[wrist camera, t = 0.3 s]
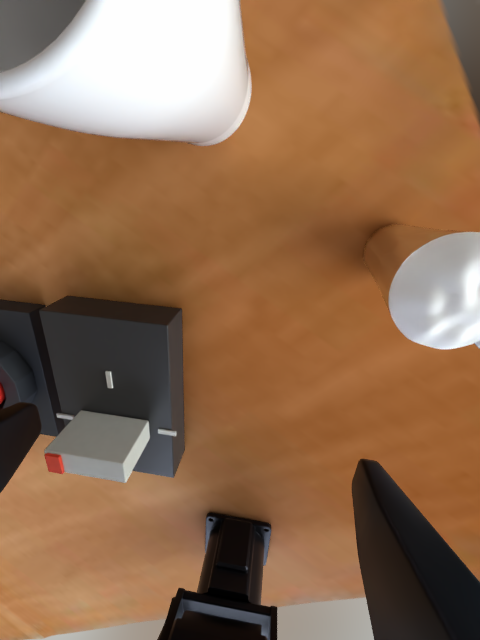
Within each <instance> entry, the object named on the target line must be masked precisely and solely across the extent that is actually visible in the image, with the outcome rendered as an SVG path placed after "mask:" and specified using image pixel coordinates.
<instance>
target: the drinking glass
mask: <svg viewBox="0 0 480 640" xmlns="http://www.w3.org/2000/svg"><path fill="white" fill-rule="evenodd" d="M251 89H252V83H251V72H250V68H249V64H248V60H247V57H246V51H245V42H244V33H243V24H242V15H241V5H240V0H0V112H1V113H5V114H8V115H12V116H15V117H19V118H22V119H26V120H30V121H33V122H37V123H41V124H45V125H49V126H53V127H57V128H61V129H65V130H70V131H75V132H80V133H86V134H91V135H99V136H106V137H114V138H126V139H142V140H160V141H174V142H186V143H188V144H192V145H196V146H210V145H214V144H217V143H220V142H222V141H224V140H225V139H227V138H228V137H230V136H231V135H232V134H233V133H234V132H235V131H236V130H237V129H238V127H239V126H240V125H241V123H242V121H243V120H244V117H245V115H246V113H247V110H248V107H249V104H250V99H251Z"/></svg>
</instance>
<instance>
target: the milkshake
mask: <svg viewBox="0 0 480 640" xmlns="http://www.w3.org/2000/svg"><path fill="white" fill-rule="evenodd" d="M363 261H364V263H365V264H366V266H367V268H368V269H369V271H370V273H371V275H372V276H373V278H374V280H375V282H376V284H377V286H378V288H379V290H380V292H381V295H382V297H383V299H384V301H385V303H386V306H387V308H388V310H389V312H390V314H391V317H392V319H393V321H394V323H395V324H396V326H397V327H398V329H399V330H400V331H401V332H402V333H403V335H405V336H406V337H407V338H408V339H410V340H412V341H414V342H416V343H419V344H422V345H425V346H428V347H432V348H437V349H454V348H459V347H463V346H467V345H470V344H473V343H474V344H475V345H476V346H477V347H478V348H479V349H480V233H479V232H466V231H453V230H441V229H431V228H424V227H417V226H410V225H403V224H393V225H390V226H387V227H383V228H380V229H378V230H377V231H376V232H375V233H374V234H373V235H372V236H371V237H370V239H369V240H368V241H367V242H366V243H365V250H364V257H363Z"/></svg>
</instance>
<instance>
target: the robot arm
mask: <svg viewBox="0 0 480 640" xmlns="http://www.w3.org/2000/svg"><path fill="white" fill-rule="evenodd" d="M41 429H42V424H41V420H40V416H39V411H38V408H37V406H36V405H35V404H32V403H26V402H19V403H16V404H14V405H11V406H9V407H6V408H4V409H1V410H0V493H1V491H2V490H3V489H4V487H5V486H6V485H7V483H8V482H9V480H10V479H11V477H12V476H13V474H14V473H15V471H16V470H17V468H18V467H19V465H20V464H21V462H22V461H23V459H24V458H25V456H26V455H27V453H28V452H29V450H30V449H31V447H32V445H33V444H34V442H35V441H36V439H37V438H38V436H39V435H40V433H41ZM352 497H353V507H354V518H355V529H356V540H357V549H358V557H359V563H360V569H361V574H362V579H363V584H364V589H365V594H366V599H367V604H368V610H369V615H370V620H371V625H372V630H373V635H374V640H480V582H479V581H478V580H477V578H476V577H475V576H474V575H473V574H472V572H471V571H470V570H469V569H468V568H467V567H466V565H465V564H464V563H463V562H462V561H461V560H460V558H459V557H458V556H457V555H456V554H455V552H454V551H453V550H452V549H451V548H450V547H449V545H448V544H447V543H446V542H445V541H444V539H443V538H442V537H441V536H440V535H439V534H438V532H437V531H436V530H435V529H434V528H433V526H432V525H431V524H430V523H429V522H428V521H427V519H426V518H425V517H424V516H423V515H422V513H421V512H420V511H419V510H418V509H417V508H416V506H415V505H414V504H413V503H412V502H411V500H410V499H409V498H408V497H407V496H406V495H405V493H404V492H403V491H402V490H401V489H400V488H399V486H398V485H397V484H396V483H395V482H394V480H393V479H392V478H391V477H390V476H389V475H388V473H387V472H386V471H385V470H384V469H383V467H382V466H381V465H380V464H379V463H378V462H377V461H373V460H368V459H360V460H359V462H358V465H357V468H356V471H355V474H354V477H353V481H352ZM270 535H271V525H270V524H269V523H265V522H260V521H254V520H249V519H243V518H238V517H232V516H227V515H221V514H216V513H208V514H207V517H206V545H205V553H206V554H205V558H204V563H203V567H202V572H201V576H200V581H199V585H198V590H197V593H196V592H191V591H186V590H185V589H183V588H179V589H178V591H177V594H176V597H174V598H172V601H171V605H170V608H169V612H168V615H167V618H166V621H165V624H164V626H163V629H162V631H161V633H160V635H159V637H158V639H157V640H277V607H275V606H271V607H268V606H263V605H261V592H262V577H263V566H264V565H266V560H267V554H268V547H269V541H270Z"/></svg>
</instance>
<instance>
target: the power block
mask: <svg viewBox="0 0 480 640" xmlns="http://www.w3.org/2000/svg"><path fill="white" fill-rule="evenodd" d="M44 307H45V305H42V304H33V303H25V302H16V301H7V300H0V382H1V384H2V386H3V389H4V392H5V398H4V400H3V402H2V403H1V404H0V410H1V409H4V408H6V407H9V406H11V405H14V404H16V403H19V402H26V403H32V404H35V405H36V406H37V408H38V411H39V416H40V420H41V424H42V429H41V433H40V434H44V435H50V436H56V437H57V436H58V435H59V434H60V433H61V431H62V430H63V429H64V428H65V424H64V419H63V418H57V415H56V414H57V413H62V410H61V406H60V401H59V397H58V392H57V388H56V384H55V379H54V375H53V370H52V366H51V361H50V357H49V353H48V348H47V344H46V339H45V335H44V330H43V326H42V321H41V317H40V313H39V310H41V309H42V308H44Z"/></svg>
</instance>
